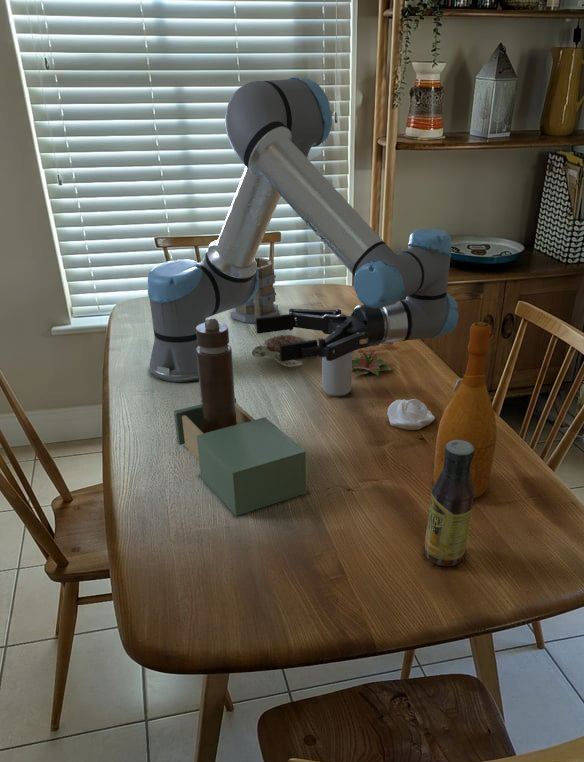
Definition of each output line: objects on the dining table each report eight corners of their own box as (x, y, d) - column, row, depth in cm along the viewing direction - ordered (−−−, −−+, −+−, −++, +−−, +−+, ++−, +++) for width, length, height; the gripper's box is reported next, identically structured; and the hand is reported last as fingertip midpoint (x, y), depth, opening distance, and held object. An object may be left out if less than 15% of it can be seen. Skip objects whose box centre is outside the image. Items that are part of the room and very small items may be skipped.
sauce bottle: (420, 544, 115) (431, 433, 103) (459, 543, 115) (475, 432, 104) (428, 571, 109) (441, 457, 98) (468, 569, 110) (486, 455, 99)
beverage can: (348, 399, 157) (349, 346, 150) (319, 396, 158) (319, 343, 151) (353, 387, 162) (355, 335, 155) (325, 384, 163) (325, 332, 156)
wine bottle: (492, 478, 131) (518, 316, 114) (482, 507, 124) (509, 338, 107) (438, 468, 134) (456, 309, 117) (426, 496, 126) (443, 329, 109)
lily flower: (401, 374, 168) (403, 356, 165) (353, 382, 164) (354, 363, 162) (380, 355, 177) (381, 337, 174) (334, 361, 173) (334, 343, 171)
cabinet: (200, 476, 130) (196, 435, 126) (267, 457, 136) (265, 416, 132) (235, 516, 120) (232, 473, 116) (305, 493, 126) (305, 451, 122)
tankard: (231, 307, 204) (228, 252, 195) (277, 306, 205) (275, 251, 196) (231, 333, 187) (227, 274, 179) (280, 332, 189) (278, 274, 180)
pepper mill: (200, 442, 137) (187, 315, 123) (229, 434, 139) (220, 309, 125) (213, 456, 132) (201, 327, 119) (243, 448, 135) (235, 320, 121)
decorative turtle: (243, 346, 181) (242, 326, 178) (306, 338, 185) (306, 319, 182) (262, 375, 167) (261, 354, 164) (330, 366, 171) (331, 345, 168)
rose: (388, 388, 151) (434, 390, 151) (386, 408, 154) (433, 409, 154) (388, 410, 143) (437, 412, 143) (387, 430, 146) (435, 432, 145)
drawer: (174, 440, 139) (171, 408, 136) (232, 424, 145) (230, 394, 141) (206, 474, 129) (202, 441, 125) (267, 456, 135) (265, 424, 131)
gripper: (407, 368, 127) (292, 387, 120) (350, 321, 146) (248, 335, 139) (409, 327, 123) (291, 343, 116) (351, 284, 142) (246, 296, 135)
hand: (267, 339), depth 128 cm, fingers open, 13 cm apart
